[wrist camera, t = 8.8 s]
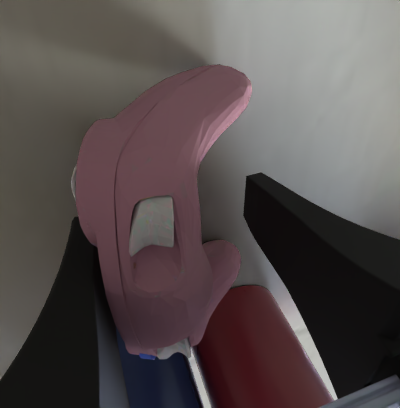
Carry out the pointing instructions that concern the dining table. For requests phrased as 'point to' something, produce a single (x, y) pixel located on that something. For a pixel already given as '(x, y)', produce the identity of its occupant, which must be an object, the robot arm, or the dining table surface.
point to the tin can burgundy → (256, 356)
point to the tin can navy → (158, 380)
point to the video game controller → (159, 208)
